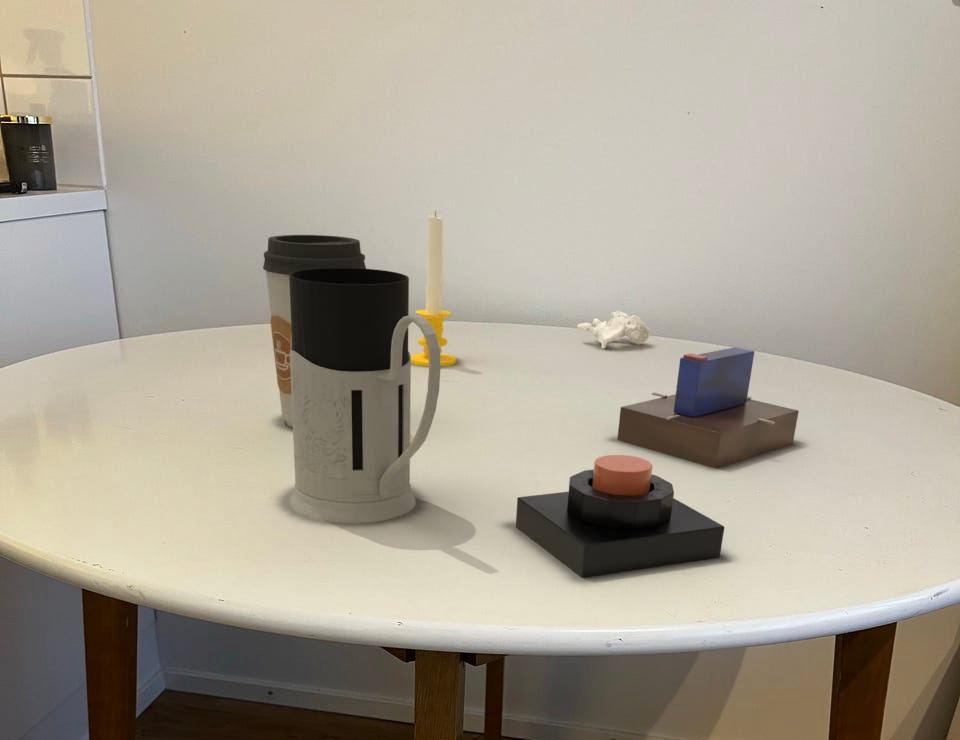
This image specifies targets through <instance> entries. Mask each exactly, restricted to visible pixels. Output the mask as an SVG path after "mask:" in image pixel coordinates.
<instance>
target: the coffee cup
mask: <svg viewBox="0 0 960 740" xmlns="http://www.w3.org/2000/svg"><path fill="white" fill-rule="evenodd" d="M361 249H362V248H361V241H360V240H359V239H357V238H353V237H347V236H337V235H325V234H324V235H323V234H284V235H274V236H270V237H268V238H267V250H265V251H264V252H263V258H264V261H263V266H262V270H264V271H265V277H266V285H267V294H268V303H269V313H270V319H269V320H270V321H269V322H270V329H271V338H272V347H273V356H274V365H275V372H276V374H275V375H276V381H277V387H278V391H279V399H280V400H279V401H280V409H281V417H282V419H283V420H284V421H285V424H286V425H287V426H288V427H290V428H292V429H293V418H292V395H291V372H290V337H291V333H292V331H291V307H290V283H289V274H290V273H292V272H295V271H299V270H305V269H315V268H362V269H367V267H366V263H365V262H366V261H365V260H366V255H365V254H363V253H362V250H361Z"/></svg>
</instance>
